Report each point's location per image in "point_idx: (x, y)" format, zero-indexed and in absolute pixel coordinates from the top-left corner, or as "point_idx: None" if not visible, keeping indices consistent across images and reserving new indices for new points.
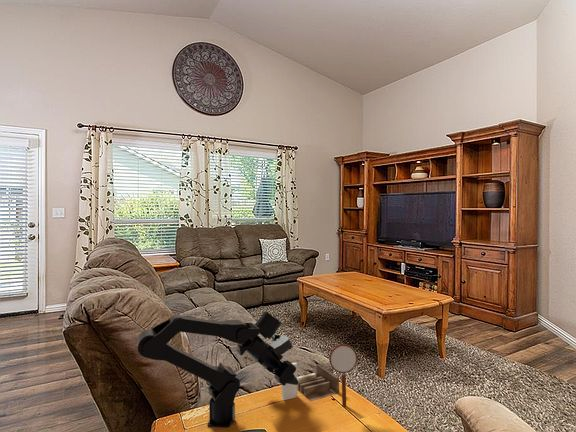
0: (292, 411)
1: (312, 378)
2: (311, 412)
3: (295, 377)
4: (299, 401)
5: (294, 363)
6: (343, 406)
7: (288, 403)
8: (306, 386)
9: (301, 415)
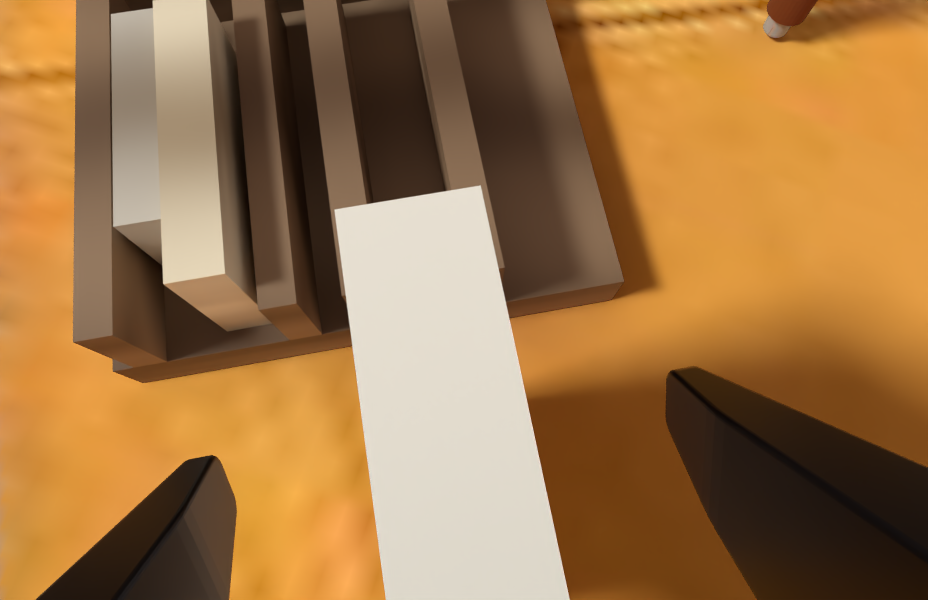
0: (682, 540)
1: (227, 78)
2: (744, 330)
3: (862, 442)
4: None
5: (432, 267)
6: (809, 9)
7: None
8: None
9: None
